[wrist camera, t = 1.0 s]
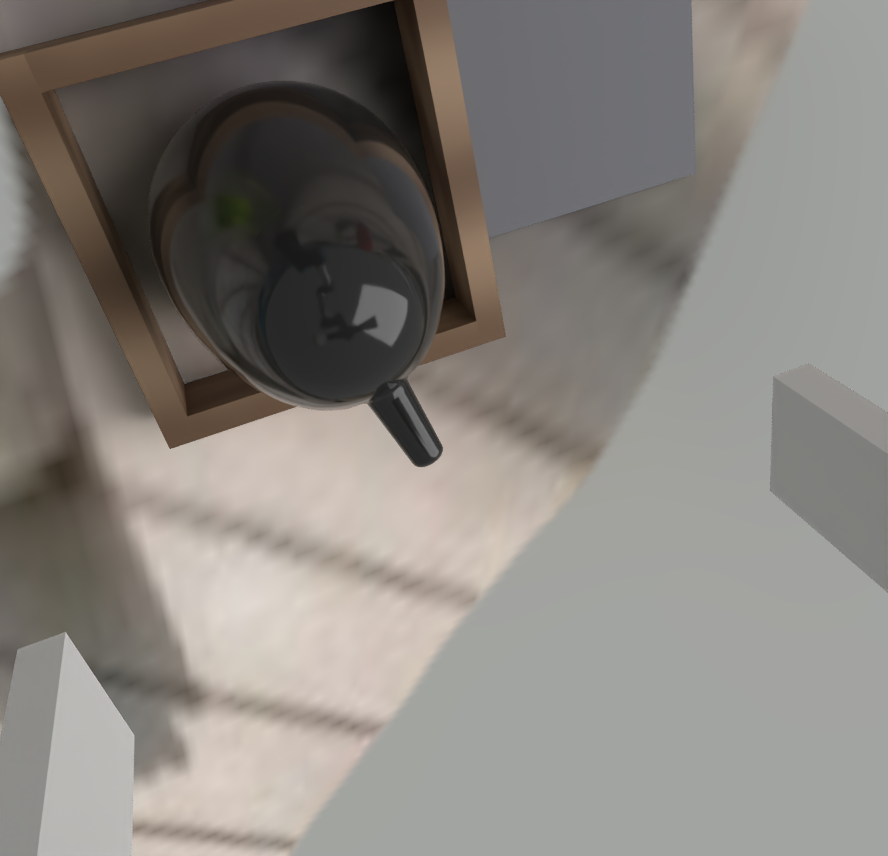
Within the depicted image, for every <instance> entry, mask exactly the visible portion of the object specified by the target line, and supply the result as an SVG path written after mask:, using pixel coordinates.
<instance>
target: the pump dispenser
mask: <svg viewBox="0 0 888 856" xmlns="http://www.w3.org/2000/svg"><path fill="white" fill-rule="evenodd" d="M148 233H149V241H150V246H151V251H152V255H153V259H154V263H155V266H156V269H157V272H158V274H159V277H160V279H161V281H162V284H163V286H164V288H165V290H166V292H167V294H168V296H169V298H170V299H171V301H172V303H173V305H174V306H175V308H176V310H177V311H178V313H179V315H180V316H181V318H182V319H183V321H184V322H185V324H186V325H187V326H188V328H189V329H190V330H191V332H192V333H193V334H194V335H195V337H196V338H197V339H198V340H199V341H200V342H201V343H202V345H203V346H204V347H205V348H206V349H207V350H208V351H209V352H210V353H211V354H212V355H213V356H214V357H215V358H216V359H217V360H218V361H220V362H221V363H222V364H223V365H224V366H225V367H226V368H227V369H229V370H230V371H231V372H232V373H233V374H235V375H236V376H237V377H238V378H240V379H241V380H243V381H244V382H245V383H247V384H248V385H250V386H251V387H253V388H255V389H256V390H258V391H260V392H262V393H264V394H266V395H268V396H270V397H272V398H274V399H276V400H279V401H281V402H284V403H287V404H290V405H293V406H297V407H301V408H306V409H312V410H322V411H331V410H343V409H349V408H351V407H354V406H357V405H360V404H368V406H369V407H370V408H371V409H372V410H373V412H374V413H375V414H376V416H377V417H378V418H379V420H380V421H381V422H382V424H383V425H384V426H385V428H386V429H387V430H388V432H389V433H390V434H391V435H392V437H393V438H394V439H395V441H396V442H397V443H398V445H399V446H400V447H401V449H402V450H403V451H404V453H405V454H406V455H407V457H408V458H409V459H410V461H411V462H412V463H413V464H414V465H415V466H417V467H426V466H428V465H431V464H432V463H434V462H435V461H437V460H438V459H439V457H440V456H441V454H442V452H443V447H442V444H441V442H440V441H439V439H438V437H437V435H436V433H435V431H434V429H433V427H432V426H431V424H430V422H429V420H428V418H427V416H426V414H425V412H424V411H423V409H422V407H421V405H420V403H419V401H418V399H417V397H416V396H415V394H414V392H413V390H412V388H411V386H410V384H409V382H408V380H407V378H408V376H409V375H410V373H411V372H412V371H413V370H414V369H415V368H416V367H417V366H418V365H419V364H420V363H421V362H422V360H423V359H424V357H425V355H426V354H427V352H428V350H429V348H430V346H431V344H432V342H433V340H434V337H435V335H436V332H437V329H438V325H439V322H440V318H441V314H442V308H443V302H444V293H445V265H444V254H443V245H442V239H441V233H440V228H439V224H438V220H437V216H436V212H435V209H434V206H433V203H432V200H431V197H430V195H429V192H428V190H427V187H426V185H425V183H424V180H423V178H422V176H421V174H420V172H419V170H418V168H417V166H416V164H415V163H414V161H413V159H412V157H411V156H410V154H409V152H408V151H407V149H406V148H405V146H404V145H403V144H402V142H401V141H400V140H399V138H398V137H397V136H396V135H395V134H394V132H393V131H392V130H391V129H390V128H389V127H388V126H387V125H386V124H385V123H384V122H383V121H382V120H381V119H380V118H378V117H377V116H376V115H375V114H374V113H372V112H371V111H370V110H369V109H367V108H366V107H364V106H363V105H361V104H360V103H358V102H357V101H355V100H353V99H351V98H350V97H348V96H346V95H344V94H342V93H339V92H337V91H334V90H332V89H329V88H326V87H323V86H319V85H315V84H310V83H304V82H296V81H271V82H263V83H257V84H252V85H248V86H245V87H241V88H238V89H236V90H233V91H230V92H228V93H226V94H224V95H222V96H220V97H218V98H216V99H215V100H213V101H211V102H210V103H208V104H207V105H205V106H204V107H202V108H201V109H200V110H198V111H197V112H196V113H195V114H194V115H192V116H191V117H190V118H189V119H188V120H187V121H186V122H185V123H184V124H183V125H182V126H181V128H180V129H179V130H178V131H177V132H176V134H175V135H174V136H173V138H172V139H171V141H170V142H169V144H168V145H167V147H166V149H165V151H164V152H163V154H162V156H161V158H160V161H159V163H158V165H157V168H156V171H155V173H154V177H153V180H152V184H151V189H150V194H149V202H148Z"/></svg>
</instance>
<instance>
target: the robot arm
mask: <svg viewBox="0 0 888 856" xmlns="http://www.w3.org/2000/svg"><path fill="white" fill-rule="evenodd" d="M770 480H771V481H770V491H771V492H772V493H773V494H774V495H775V496H777V497H778V498H779V499H780V500H781V501H783V502H784V503H785V504H786V505H787V506H788V507H790V508H791V509H792V510H793V511H794V512H795V513H796V514H797V515H799V516H800V517H801V518H802V519H803V520H804V521H806V522H807V523H808V524H809V525H810V526H811V527H812V528H814V529H815V530H816V531H817V532H818V533H819V534H821V535H822V536H823V537H824V538H825V539H826V540H828V541H829V542H830V543H831V544H832V545H833V546H834V547H836V548H837V549H838V550H839V551H840V552H841V553H843V554H844V555H845V556H846V557H847V558H848V559H849V560H851V561H852V562H853V563H854V564H855V565H857V566H858V567H859V568H860V569H861V570H862V571H863V572H865V573H866V574H867V575H868V576H869V577H870V578H871V579H873V580H874V581H875V582H876V583H877V584H878V585H880V586H881V587H882V588H883V589H884V590H885V591H886V592H888V412H887V411H885V410H883V409H882V408H880V407H878V406H877V405H875V404H873V403H872V402H870V401H869V400H867V399H866V398H864V397H862V396H861V395H859V394H858V393H856V392H854V391H852V390H851V389H849V388H848V387H846V386H845V385H843V384H841V383H840V382H838V381H836V380H835V379H833V378H832V377H830V376H828V375H827V374H825V373H824V372H822V371H820V370H819V369H817V368H816V367H814V366H812V365H811V364H806V365H804V366H800V367H798V368H795V369H792V370H789V371H787V372H784V373H781V374H778V375H776V376H773V403H772V442H771V478H770ZM133 777H134V734H133V733H132V731H131V730H130V728H129V727H128V725H127V724H126V722H125V721H124V719H123V718H122V716H121V715H120V713H119V712H118V710H117V709H116V707H115V706H114V704H113V703H112V701H111V700H110V698H109V697H108V695H107V694H106V692H105V691H104V689H103V688H102V686H101V685H100V683H99V682H98V680H97V679H96V677H95V676H94V674H93V673H92V671H91V670H90V668H89V667H88V665H87V664H86V662H85V661H84V659H83V658H82V656H81V655H80V653H79V652H78V650H77V649H76V647H75V646H74V644H73V643H72V641H71V640H70V638H69V637H68V635H67V634H66V632H64V633H62V634H59V635H56V636H53V637H51V638H48V639H45V640H42V641H39V642H37V643H34V644H31V645H28V646H26V647H23V648H20V649H18V650H17V656H16V661H15V666H14V671H13V676H12V681H11V687H10V692H9V697H8V702H7V707H6V713H5V718H4V723H3V728H2V733H1V739H0V856H132V823H133Z"/></svg>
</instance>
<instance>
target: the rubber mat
mask: <svg viewBox="0 0 888 856" xmlns="http://www.w3.org/2000/svg"><path fill="white" fill-rule="evenodd" d="M447 5H448V11H449V16H450V22H451V28H452V34H453V39H454V45H455V51H456V56H457V62H458V68H459V73H460V79H461V85H462V90H463V96H464V102H465V107H466V113H467V119H468V124H469V130H470V136H471V142H472V147H473V153H474V159H475V164H476V170H477V176H478V181H479V187H480V193H481V198H482V204H483V210H484V215H485V221H486V227H487V232H488V238H491V237H494V236H497V235H501V234H504V233H507V232H510V231H513V230H516V229H520V228H523V227H526V226H529V225H532V224H536V223H539V222H542V221H545V220H548V219H551V218H555V217H558V216H561V215H564V214H567V213H571V212H574V211H577V210H580V209H583V208H586V207H590V206H593V205H596V204H599V203H602V202H606V201H609V200H612V199H615V198H618V197H621V196H625V195H628V194H631V193H634V192H637V191H641V190H644V189H647V188H650V187H653V186H656V185H660V184H663V183H666V182H669V181H672V180H676V179H679V178H682V177H685V176H688V175H691V174H695V173H696V167H695V127H694V88H693V48H692V9H691V0H447Z"/></svg>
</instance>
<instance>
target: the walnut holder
mask: <svg viewBox="0 0 888 856" xmlns="http://www.w3.org/2000/svg"><path fill="white" fill-rule="evenodd" d="M389 1H394V6H395V10H396V15H397V20H398V25H399V30H400V34H401V39H402V44H403V49H404V53H405V58H406V63H407V68H408V73H409V77H410V82H411V87H412V92H413V97H414V101H415V106H416V111H417V116H418V121H419V125H420V130H421V135H422V140H423V145H424V149H425V154H426V159H427V164H428V168H429V173H430V178H431V183H432V188H433V192H434V197H435V202H436V207H437V212H438V216H439V221H440V226H441V231H442V236H443V240H444V245H445V250H446V255H447V259H448V264H449V269H450V274H451V279H452V283H453V288H454V293H455V297H454V298H451V299H448V300H445V301H444V302H443V308H442V314H441V318H440V322H439V325H438V329H437V332H436V335H435V337H434V340H433V342H432V344H431V346H430V348H429V350H428V352H427V354H426V355H425V357H424V359H423V360H422V362H421V363H420V364H419V365H422V364H425V363H428V362H431V361H434V360H437V359H440V358H443V357H446V356H449V355H452V354H455V353H458V352H461V351H464V350H467V349H470V348H473V347H476V346H479V345H482V344H485V343H488V342H491V341H494V340H497V339H500V338H503V337H506V335H505V329H504V323H503V318H502V312H501V306H500V301H499V295H498V289H497V284H496V278H495V272H494V267H493V261H492V255H491V250H490V244H489V238H488V232H487V227H486V221H485V215H484V210H483V204H482V198H481V193H480V187H479V181H478V176H477V170H476V164H475V159H474V153H473V147H472V142H471V136H470V130H469V124H468V119H467V113H466V107H465V102H464V96H463V90H462V85H461V79H460V73H459V68H458V62H457V56H456V51H455V45H454V39H453V34H452V28H451V22H450V16H449V11H448V5H447V0H209V1H205V2H201V3H197V4H193V5H189V6H185V7H181V8H177V9H173V10H169V11H165V12H161V13H157V14H154V15H150V16H146V17H142V18H138V19H134V20H130V21H126V22H122V23H118V24H114V25H110V26H106V27H102V28H98V29H94V30H90V31H87V32H83V33H79V34H75V35H71V36H67V37H63V38H59V39H55V40H51V41H47V42H43V43H39V44H35V45H31V46H27V47H23V48H20V49H16V50H12V51H8V52H4V53H0V95H1V97H2V99H3V101H4V104H5V106H6V108H7V110H8V112H9V114H10V116H11V118H12V120H13V122H14V124H15V127H16V129H17V131H18V133H19V135H20V137H21V139H22V141H23V143H24V145H25V147H26V149H27V152H28V154H29V156H30V158H31V160H32V162H33V164H34V166H35V168H36V170H37V172H38V175H39V177H40V179H41V181H42V183H43V185H44V187H45V189H46V191H47V193H48V195H49V198H50V200H51V202H52V204H53V206H54V208H55V210H56V212H57V214H58V216H59V218H60V221H61V223H62V225H63V227H64V229H65V231H66V233H67V235H68V237H69V239H70V241H71V243H72V246H73V248H74V250H75V252H76V254H77V256H78V258H79V260H80V262H81V264H82V266H83V269H84V271H85V273H86V275H87V277H88V279H89V281H90V283H91V285H92V287H93V289H94V292H95V294H96V296H97V298H98V300H99V302H100V304H101V306H102V308H103V310H104V312H105V315H106V317H107V319H108V321H109V323H110V325H111V327H112V329H113V331H114V333H115V335H116V337H117V340H118V342H119V344H120V346H121V348H122V350H123V352H124V354H125V356H126V358H127V360H128V363H129V365H130V367H131V369H132V371H133V373H134V375H135V377H136V379H137V381H138V383H139V386H140V388H141V390H142V392H143V394H144V396H145V398H146V400H147V402H148V404H149V406H150V409H151V411H152V413H153V415H154V417H155V419H156V421H157V423H158V425H159V427H160V429H161V431H162V434H163V436H164V438H165V440H166V442H167V444H168V446H169V448H170V449H171V448H174V447H177V446H180V445H183V444H186V443H189V442H192V441H195V440H198V439H201V438H204V437H207V436H210V435H213V434H216V433H219V432H222V431H225V430H228V429H231V428H234V427H237V426H240V425H243V424H246V423H249V422H252V421H255V420H258V419H261V418H264V417H267V416H270V415H273V414H276V413H279V412H282V411H285V410H288V409H291V408H294V407H297V406H293V405H290V404H287V403H284V402H281V401H279V400H276V399H274V398H272V397H270V396H268V395H266V394H264V393H262V392H260V391H258V390H256V389H255V388H253V387H251V386H250V385H248V384H247V383H245V382H244V381H243V380H241V379H240V378H238V377H237V376H236V375H235V374H233V373H232V372H231V371H230V370H229V371H225V372H222V373H219V374H216V375H213V376H210V377H207V378H204V379H201V380H198V381H195V382H191V383H188V384H185V385H184V382H183V380H182V378H181V376H180V373H179V371H178V369H177V367H176V364H175V362H174V360H173V358H172V355H171V353H170V351H169V348H168V346H167V344H166V342H165V339H164V337H163V335H162V333H161V330H160V328H159V326H158V324H157V321H156V319H155V317H154V315H153V312H152V310H151V308H150V305H149V303H148V301H147V299H146V296H145V294H144V292H143V290H142V287H141V285H140V283H139V281H138V278H137V276H136V274H135V272H134V269H133V267H132V265H131V263H130V260H129V258H128V256H127V253H126V251H125V249H124V247H123V244H122V242H121V240H120V238H119V235H118V233H117V231H116V229H115V226H114V224H113V222H112V220H111V217H110V215H109V213H108V210H107V208H106V206H105V204H104V201H103V199H102V197H101V195H100V192H99V190H98V188H97V186H96V183H95V181H94V179H93V177H92V174H91V172H90V170H89V167H88V165H87V163H86V161H85V158H84V156H83V154H82V152H81V149H80V147H79V145H78V143H77V140H76V138H75V136H74V134H73V131H72V129H71V127H70V125H69V122H68V120H67V118H66V115H65V113H64V111H63V109H62V106H61V104H60V102H59V100H58V97H57V95H56V93H55V91H54V89H58V88H61V87H65V86H69V85H73V84H77V83H80V82H84V81H88V80H92V79H96V78H99V77H103V76H107V75H111V74H115V73H119V72H122V71H126V70H130V69H134V68H138V67H141V66H145V65H149V64H153V63H157V62H160V61H164V60H168V59H172V58H176V57H179V56H183V55H187V54H191V53H195V52H198V51H202V50H206V49H210V48H214V47H217V46H221V45H225V44H229V43H233V42H237V41H240V40H244V39H248V38H252V37H256V36H259V35H263V34H267V33H271V32H275V31H278V30H282V29H286V28H290V27H294V26H297V25H301V24H305V23H309V22H313V21H316V20H320V19H324V18H328V17H332V16H335V15H339V14H343V13H347V12H351V11H355V10H358V9H362V8H366V7H370V6H374V5H377V4H381V3H385V2H389ZM419 365H418V366H419Z"/></svg>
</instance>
